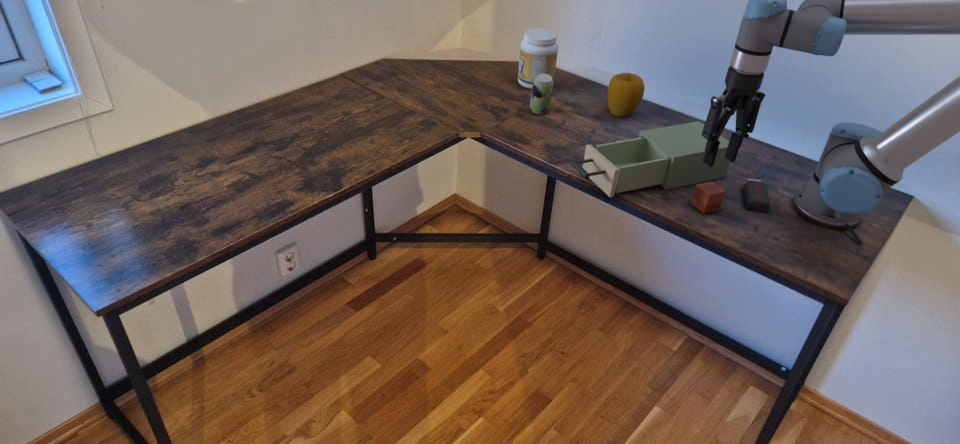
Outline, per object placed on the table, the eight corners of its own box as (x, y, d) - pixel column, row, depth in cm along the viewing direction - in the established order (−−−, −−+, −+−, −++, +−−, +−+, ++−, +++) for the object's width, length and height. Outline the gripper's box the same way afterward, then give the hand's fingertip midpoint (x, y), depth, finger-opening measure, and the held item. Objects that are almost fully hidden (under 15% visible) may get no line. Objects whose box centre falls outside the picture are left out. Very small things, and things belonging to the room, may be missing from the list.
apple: (636, 124, 197) (644, 84, 189) (600, 118, 199) (607, 78, 192) (640, 110, 205) (649, 71, 198) (606, 104, 208) (613, 65, 200)
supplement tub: (514, 75, 222) (518, 27, 213) (549, 76, 224) (555, 27, 214) (520, 90, 213) (524, 40, 203) (556, 90, 214) (563, 40, 204)
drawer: (588, 201, 159) (593, 174, 154) (561, 174, 169) (565, 148, 164) (670, 184, 167) (677, 158, 163) (640, 159, 177) (646, 134, 173)
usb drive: (746, 208, 162) (749, 199, 160) (741, 184, 171) (744, 175, 170) (768, 212, 161) (771, 203, 159) (762, 187, 170) (765, 178, 169)
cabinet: (665, 190, 167) (673, 157, 161) (633, 162, 178) (639, 131, 172) (725, 177, 174) (735, 145, 168) (690, 151, 184) (699, 120, 179)
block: (719, 210, 160) (725, 191, 157) (703, 214, 159) (709, 195, 156) (706, 199, 164) (712, 181, 161) (690, 203, 162) (696, 184, 159)
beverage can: (544, 106, 204) (548, 69, 197) (553, 116, 198) (558, 79, 191) (525, 107, 202) (529, 71, 195) (534, 118, 197) (538, 81, 190)
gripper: (767, 57, 147) (738, 148, 160) (700, 66, 140) (676, 160, 153) (792, 70, 141) (760, 163, 155) (724, 80, 135) (697, 176, 148)
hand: (718, 161), depth 154 cm, fingers open, 6 cm apart
